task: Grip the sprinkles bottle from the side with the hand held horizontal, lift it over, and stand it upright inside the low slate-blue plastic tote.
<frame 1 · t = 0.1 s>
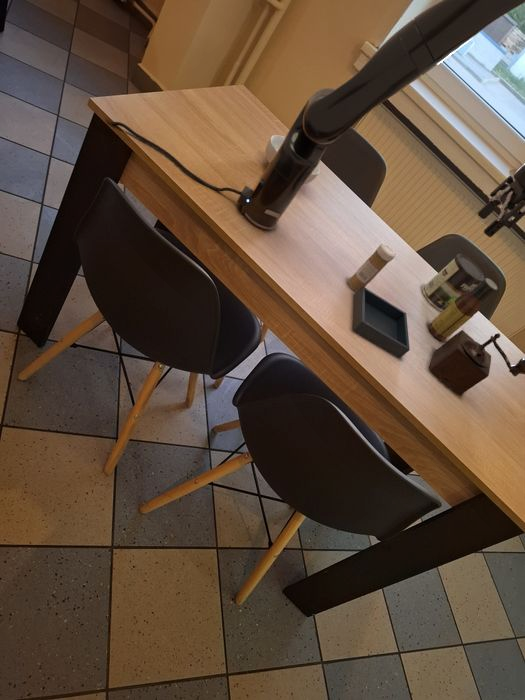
hand: (483, 225, 116), 29 cm above the table, tool pointing down, fingers open, 8 cm apart
manual coffee grinder: (453, 380, 126), on the table
coffee can: (434, 299, 149), on the table
sprinkles bottle: (353, 286, 128), on the table
sauce bottle: (435, 332, 137), on the table
tote: (376, 325, 122), on the table
cereal bowl: (282, 174, 146), on the table
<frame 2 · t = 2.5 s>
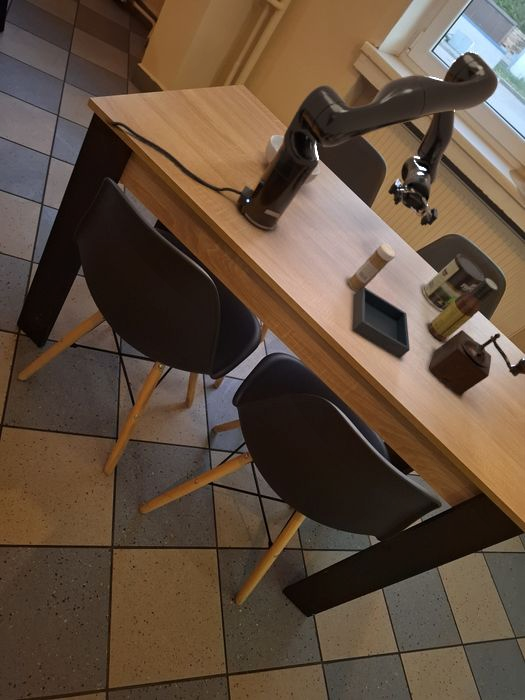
hand: (411, 212, 124), 20 cm above the table, tool horizontal, fingers open, 8 cm apart
nothing on the table moved.
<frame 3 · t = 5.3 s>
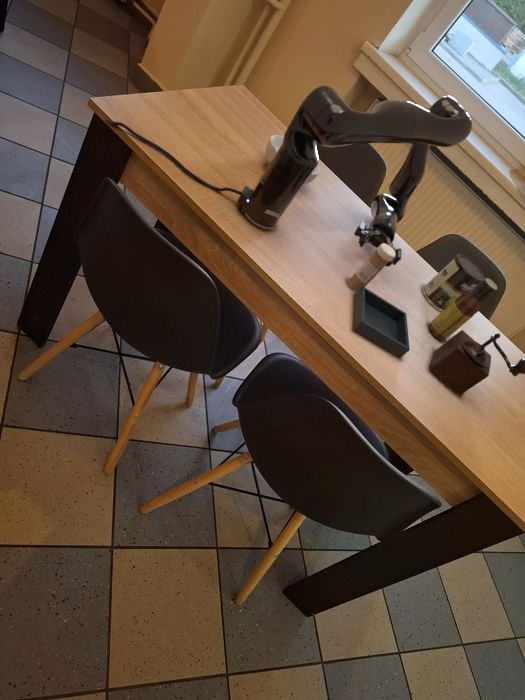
hand: (375, 254, 129), 7 cm above the table, tool horizontal, fingers open, 8 cm apart
nothing on the table moved.
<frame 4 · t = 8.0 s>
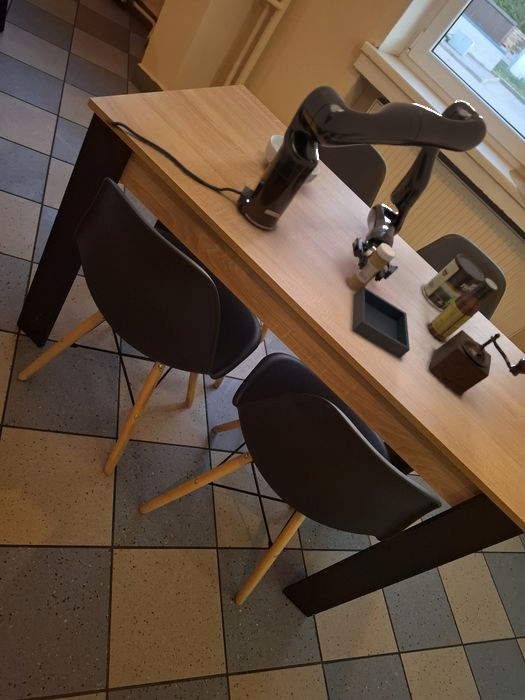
hand: (370, 272, 121), 7 cm above the table, tool horizontal, fingers closed on sprinkles bottle, 4 cm apart
sprinkles bottle: (353, 286, 128), on the table, touching gripper
everything else where it was.
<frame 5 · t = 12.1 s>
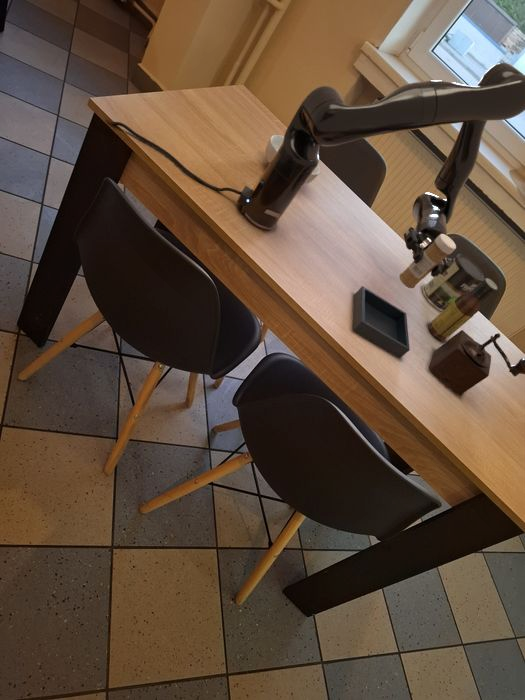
hand: (427, 266, 109), 20 cm above the table, tool horizontal, fingers closed on sprinkles bottle, 4 cm apart
sprinkles bottle: (405, 282, 116), point 12 cm above the table, touching gripper
everything else where it was.
when the fingers open (8 cm above the table, at t = 16.3 s): sprinkles bottle stays where it is, resting on tote.
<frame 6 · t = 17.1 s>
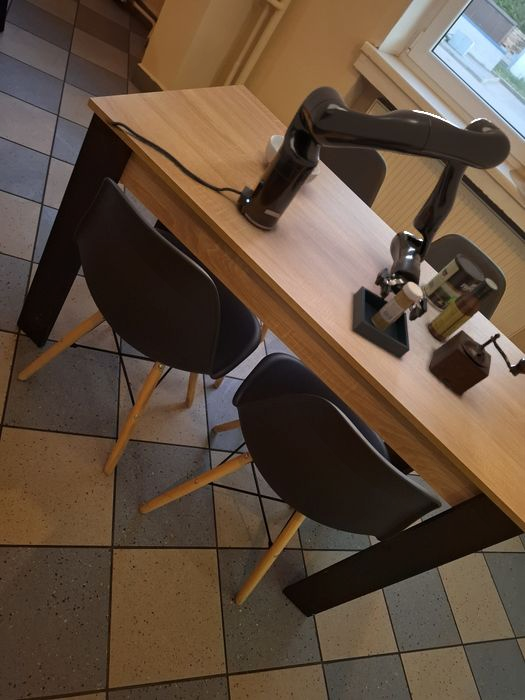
hand: (399, 307, 115), 9 cm above the table, tool horizontal, fingers open, 8 cm apart
sprinkles bottle: (377, 324, 122), resting on tote
everything else where it was.
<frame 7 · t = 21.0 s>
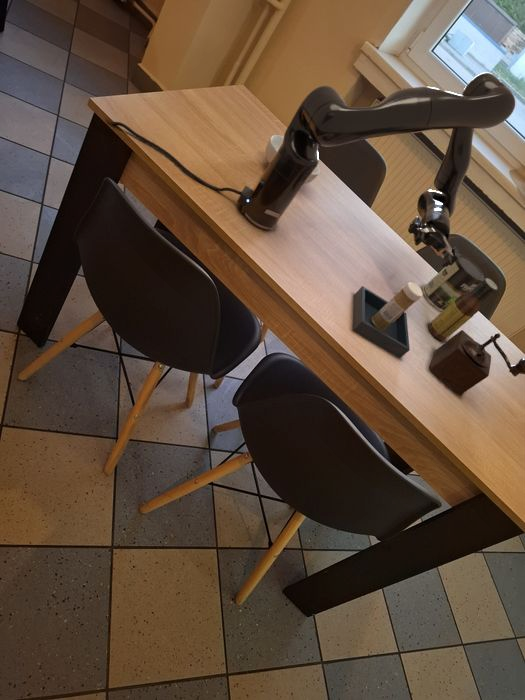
hand: (432, 253, 118), 19 cm above the table, tool horizontal, fingers open, 8 cm apart
nothing on the table moved.
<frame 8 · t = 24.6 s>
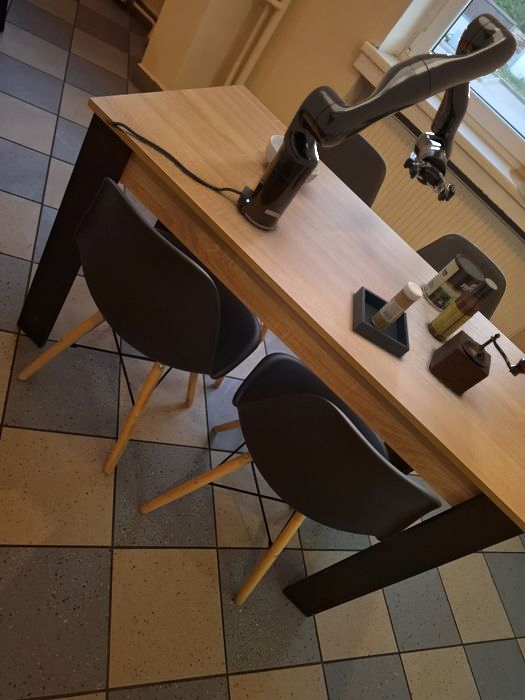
hand: (428, 186, 116), 28 cm above the table, tool horizontal, fingers open, 8 cm apart
nothing on the table moved.
at the end: sprinkles bottle inside the target area in the tote (0.2 cm from its centre), point 0.3 cm above the tote's base; sprinkles bottle tilted 0°; the gripper is holding nothing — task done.
